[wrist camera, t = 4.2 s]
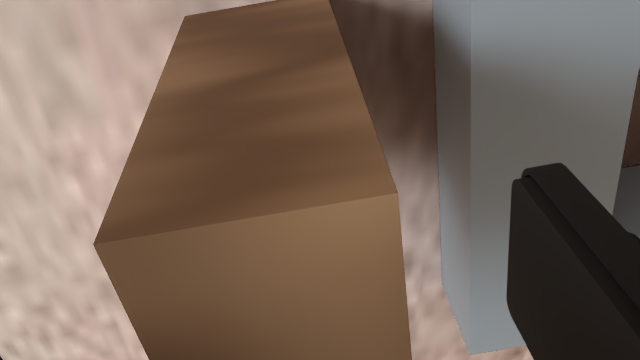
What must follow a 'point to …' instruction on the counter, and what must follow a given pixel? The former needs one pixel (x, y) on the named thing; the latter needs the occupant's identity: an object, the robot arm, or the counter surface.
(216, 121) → the square bit
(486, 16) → the socket block
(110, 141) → the counter surface
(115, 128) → the counter surface
